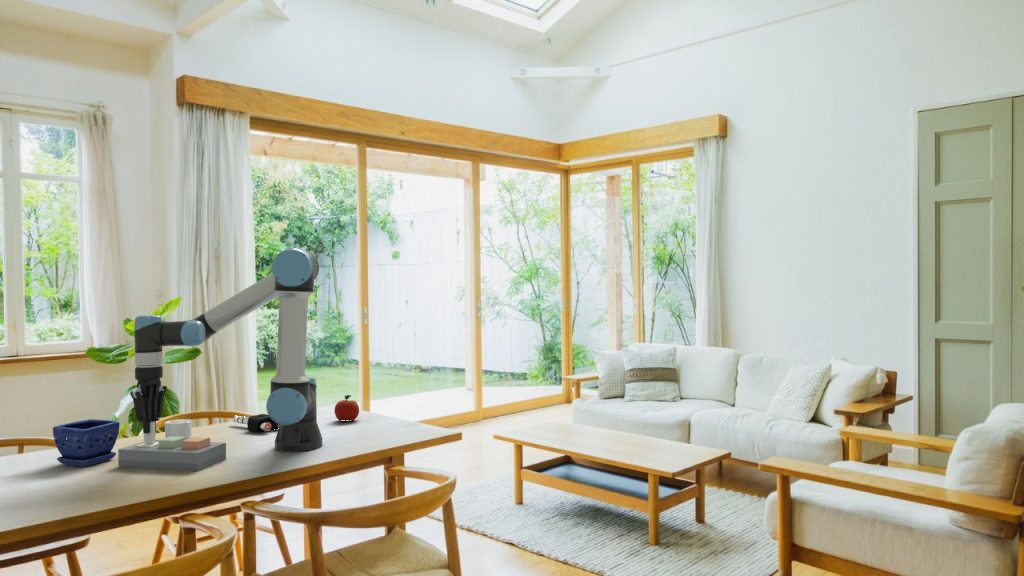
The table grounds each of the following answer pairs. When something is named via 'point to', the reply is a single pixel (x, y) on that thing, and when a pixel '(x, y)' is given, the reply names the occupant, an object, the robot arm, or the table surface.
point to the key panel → (172, 465)
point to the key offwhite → (148, 445)
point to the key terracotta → (196, 443)
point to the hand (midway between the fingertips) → (149, 443)
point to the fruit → (346, 409)
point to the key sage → (171, 442)
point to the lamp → (257, 422)
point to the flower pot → (86, 441)
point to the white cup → (178, 428)
